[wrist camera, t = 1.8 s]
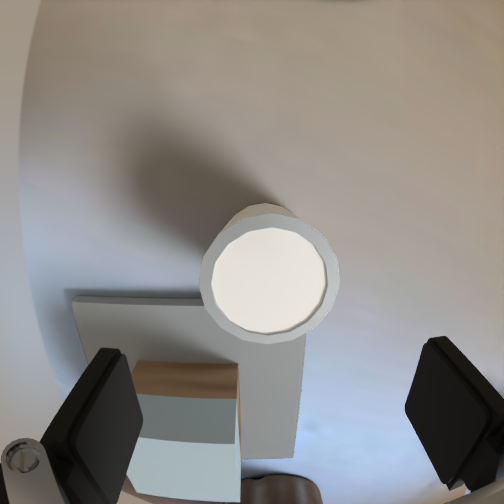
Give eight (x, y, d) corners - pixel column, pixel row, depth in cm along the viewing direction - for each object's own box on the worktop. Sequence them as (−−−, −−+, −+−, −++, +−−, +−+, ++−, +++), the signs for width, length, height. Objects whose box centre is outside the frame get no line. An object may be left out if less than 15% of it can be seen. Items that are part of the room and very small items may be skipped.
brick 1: (138, 359, 23) (122, 392, 20) (238, 363, 23) (236, 398, 20) (156, 425, 26) (147, 457, 22) (241, 430, 26) (240, 463, 22)
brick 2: (122, 392, 20) (104, 431, 16) (236, 398, 20) (234, 444, 16) (147, 457, 22) (137, 492, 18) (240, 463, 22) (240, 502, 18)
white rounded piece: (333, 245, 22) (367, 284, 15) (262, 308, 23) (266, 366, 17) (265, 172, 20) (273, 181, 14) (192, 243, 22) (169, 283, 15)
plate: (77, 295, 23) (70, 301, 22) (305, 296, 23) (308, 304, 22) (125, 441, 28) (122, 449, 27) (291, 449, 28) (292, 457, 27)
